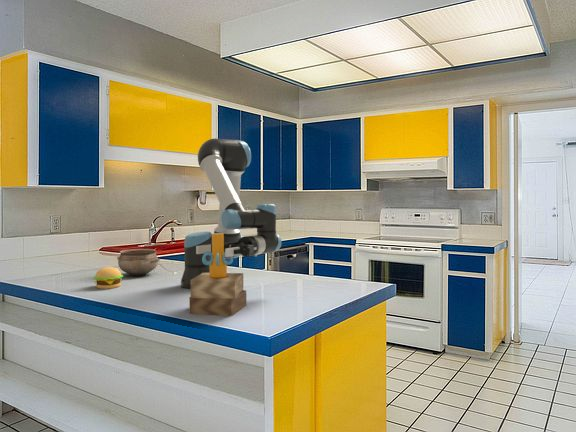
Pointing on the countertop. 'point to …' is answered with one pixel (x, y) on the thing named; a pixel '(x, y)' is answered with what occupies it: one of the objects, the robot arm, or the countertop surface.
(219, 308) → the tower base
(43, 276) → the countertop surface
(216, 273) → the orange tall piece
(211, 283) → the tower top
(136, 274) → the cooking pot
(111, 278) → the hamburger
